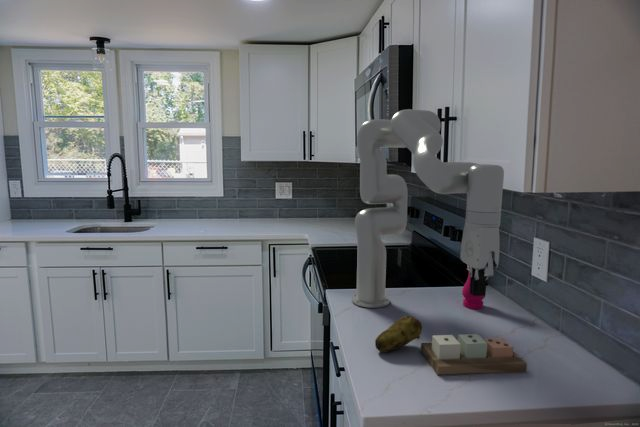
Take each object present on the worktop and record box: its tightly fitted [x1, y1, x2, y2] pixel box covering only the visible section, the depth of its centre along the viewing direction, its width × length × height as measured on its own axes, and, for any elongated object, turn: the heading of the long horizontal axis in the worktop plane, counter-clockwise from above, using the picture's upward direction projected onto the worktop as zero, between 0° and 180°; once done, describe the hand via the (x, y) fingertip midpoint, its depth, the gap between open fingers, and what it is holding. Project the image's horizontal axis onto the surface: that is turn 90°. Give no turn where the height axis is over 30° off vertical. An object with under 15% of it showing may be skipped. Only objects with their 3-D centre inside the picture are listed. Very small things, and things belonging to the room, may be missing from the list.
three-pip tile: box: [482, 337, 514, 358], centre depth 103 cm, size 5×5×4 cm
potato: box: [375, 315, 423, 353], centre depth 109 cm, size 8×13×8 cm, turn 98°
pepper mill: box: [461, 264, 486, 310], centre depth 138 cm, size 7×7×20 cm
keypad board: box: [420, 341, 528, 377], centre depth 103 cm, size 12×21×2 cm, turn 95°
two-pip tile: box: [457, 333, 487, 359], centre depth 102 cm, size 5×5×4 cm
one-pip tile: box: [431, 334, 461, 360], centre depth 102 cm, size 5×5×4 cm
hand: (477, 294), depth 101 cm, fingers closed
